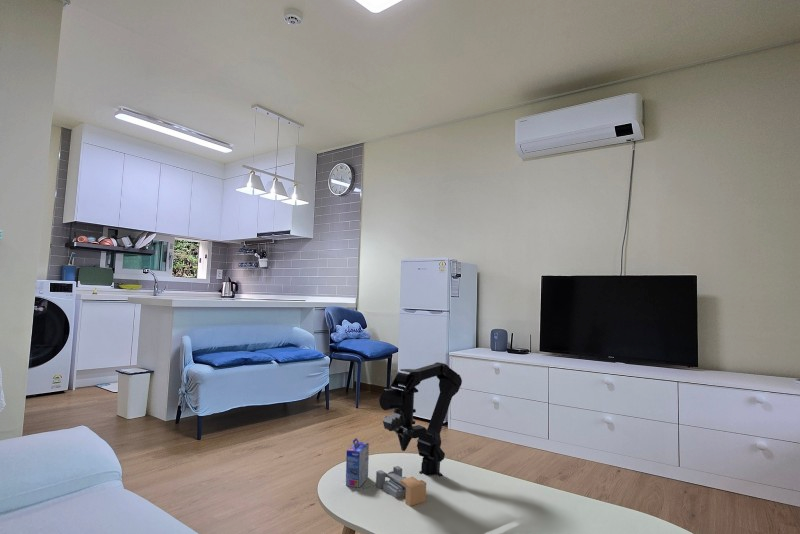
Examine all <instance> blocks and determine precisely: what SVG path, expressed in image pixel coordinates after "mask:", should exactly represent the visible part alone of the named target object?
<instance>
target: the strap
mask: <svg viewBox="0 0 800 534" xmlns="http://www.w3.org/2000/svg"><path fill="white" fill-rule="evenodd" d="M402 477H403V476H402ZM402 477H401V476H399V475H397V474H395V473H394V472H393V470H392V471H388V472H385V478H388V479H389V480H390V479H391V480H393V481H395V482H396V483H398V484H400V485H401V486H403V487H405V488H406V486H405V485H403V484H402V483H400V480H402V479H405V478H402Z"/></svg>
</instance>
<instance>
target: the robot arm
mask: <svg viewBox="0 0 800 534" xmlns="http://www.w3.org/2000/svg"><path fill="white" fill-rule="evenodd" d="M434 377H436V379H438V380H439V381H438V388H439V389H438V390H439V394H438V397H437V401H436V403H435V406H434V410H433V412H432V415H431V418H430V421H429V424H428V427H427V428H426V427H425V426H422V425H420V424H418V425H416V420H415V419H414V413H416V411H417V409H416V408H414V404H415V403H414V399H415V394H416V393H418V392H419V389H418V388H416V387H417V386H420V384H421V382H422V381H425V380H428V379H431V378H434ZM462 383H463V378H462V377H461V375H460V374H458V373H457V372H456V371H455V370H453V369H452V368H450V367H449V365H448V364H447V363H443V362H434V363H433V364H428V365H426V366H422V367H420V368H415V369H413V368H412V369H411V368H400V369H399V370H398V371H397V373H396V375H395V376H394V378H393V380H392V382H391V384H390V386H389V389H388V388H384V389H383V393H381V394H380V396H379V398H378V399H379V401H378V402H379V405H380V407H381V409H382V410H383V411H389V410H393V409H394V410H393V413H392V414H389V415H385V416H384V418H382V423H383V428H384V429H385V430H388V431H389V432H394V433H395V434H396V435H397V437H398V441H399V446H400V449H401V451H402V452H405V451H406V450H407V448H408V447H409V445H410V443H411V440H412V439H417V440H416V442H417V443H416V447H417V452H418V455H419V456H420V457H422V458H421V459H422V462H421V470H420V471H418V472H419V474H420V475H422V474H423V475H425V476H428V475H431V476H434V475H436V476H437V477H441V476H443V473H441V462H443V460H445V456H446V453H445V452H444V450H443V449H442V448H441V446H442V438H441V432H442V429H443V426H444V422H445V420H446V416H447V414H448V410H449V408H450V405H451V401H452V399H453V397H454V396H455V395H456V394H457V393H458V392H459V390H460V389H461V387H462V386H461V385H462Z"/></svg>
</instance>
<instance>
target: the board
mask: <svg viewBox="0 0 800 534" xmlns="http://www.w3.org/2000/svg"><path fill="white" fill-rule="evenodd" d="M392 471H393V472H394V473H395V474H397V475H399V476H401V477H402V478H404V479H405V478H408V477H406V476H403V468H402V467H401V466H398V465H397V466H393V470H392ZM385 473H386V472H385V471H384V470H382V469H380V470H377V471H376V475H375V484H372V485H368V486H364V487H363V488H362V490H367V489H370V488H375V487H376V488H378V489H383V491H384V492H385V493H387V494H389V495H390V496H392V498H393V499H398V498H401V497H406V488H405V487H403V486H401V485H400V484H398V483H396V482H395V481H393V480H391V479H389V480H386V477H385Z"/></svg>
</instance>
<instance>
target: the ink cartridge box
mask: <svg viewBox="0 0 800 534" xmlns="http://www.w3.org/2000/svg"><path fill="white" fill-rule="evenodd" d="M352 443H353V444H352V445H351V446H350V447H349V448H348V449H347V450H346V459H345V463H346V464H345V467H346V469H345V486H346V487H353V488H360V487H361V486H362V485H363V484H364V482H365V481H366V480H367V479H368V477H369V460H370V459H369V458H370V457H369V455H370V454H369V453H370V452H369V451H370V444H369V443H368V442H363V441H359V439H358V438H357V437H356V438H354V439H353V440H352Z"/></svg>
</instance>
